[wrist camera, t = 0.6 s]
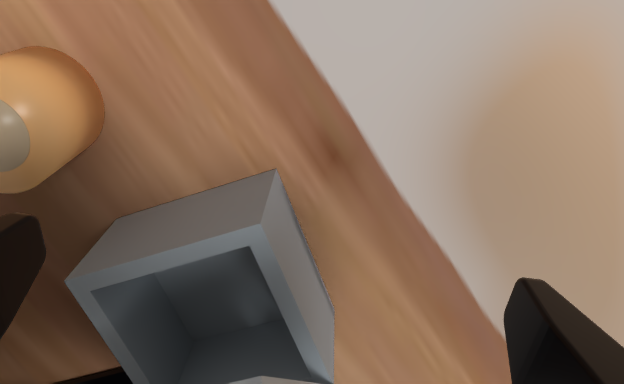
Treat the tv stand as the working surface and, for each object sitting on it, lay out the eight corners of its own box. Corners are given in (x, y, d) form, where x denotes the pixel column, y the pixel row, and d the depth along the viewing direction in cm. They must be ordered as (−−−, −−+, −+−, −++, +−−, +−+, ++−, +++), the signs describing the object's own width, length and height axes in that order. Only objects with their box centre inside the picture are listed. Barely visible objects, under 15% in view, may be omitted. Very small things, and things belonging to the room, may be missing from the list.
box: (190, 344, 29) (160, 424, 24) (116, 218, 26) (63, 281, 21) (334, 308, 27) (333, 385, 23) (276, 168, 24) (260, 223, 19)
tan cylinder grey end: (34, 167, 25) (-27, 208, 21) (-28, 68, 23) (-109, 93, 18) (124, 135, 24) (79, 173, 20) (67, 29, 22) (4, 46, 18)
